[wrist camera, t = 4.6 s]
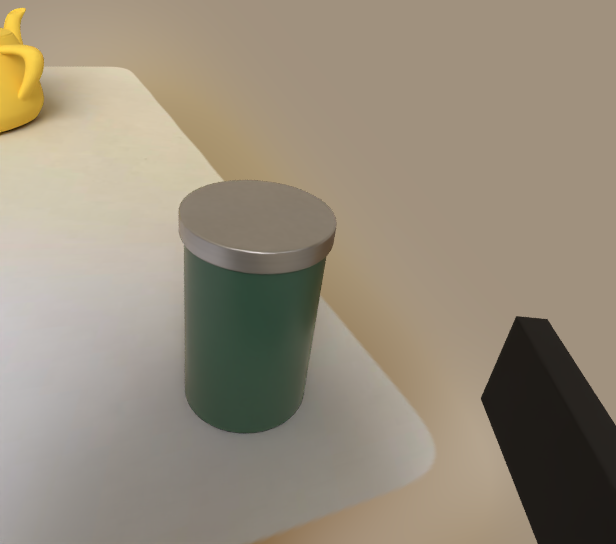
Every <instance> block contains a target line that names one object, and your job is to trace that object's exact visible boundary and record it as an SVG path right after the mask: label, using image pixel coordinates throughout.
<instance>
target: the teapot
mask: <svg viewBox="0 0 616 544" xmlns="http://www.w3.org/2000/svg"><path fill="white" fill-rule="evenodd" d="M25 11H26V9H25V8H18V9H15V10H13V11H11V12H10V13H9V14H8V15H7V17H6V20H5V24H4V29H3V28H0V132H3V131H7V130H10V129H13V128H16V127H18V126H21V125H23V124H26V123H28V122H30V121H31V120H33V119H35V118H36V117H37V116H38V114H39V112H40V110H41V108H42V106H43V102H44V96H43V91H42V87H41V84H40V81H39V80H40V77H41V75H42V72H43V67H44V58H43V55H42V53H41V52H40V51H39V50H38V49H37V48H35V47H32V46H28V45H23V42H22V39H21V33H20V24H21V19H22V16H23V14H24V13H25Z"/></svg>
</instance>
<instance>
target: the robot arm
mask: <svg viewBox="0 0 616 544" xmlns="http://www.w3.org/2000/svg"><path fill="white" fill-rule="evenodd" d="M481 400H482V403H483V405H484V408H485V411H486V413H487V416H488V418H489V420H490V423H491V426H492V428H493V431H494V433H495V436H496V438H497V441H498V444H499V446H500V449H501V451H502V454H503V456H504V459H505V461H506V464H507V466H508V469H509V472H510V474H511V476H512V479H513V481H514V484H515V486H516V489H517V492H518V494H519V497H520V499H521V502H522V505H523V507H524V510H525V512H526V515H527V517H528V520H529V522H530V525H531V528H532V530H533V533H534V535H535V538H536V540H537V543H538V544H616V425H615V424H614V422H613V421H612V419H611V417H610V416H609V415H608V413H607V411H606V410H605V408H604V407H603V405H602V404H601V402H600V400H599V399H598V397H597V396H596V394H595V393H594V391H593V390H592V388H591V386H590V385H589V383H588V382H587V380H586V379H585V377H584V376H583V374H582V373H581V371H580V369H579V368H578V366H577V365H576V363H575V362H574V360H573V358H572V357H571V356H570V354H569V352H568V351H567V349H566V348H565V346H564V344H563V343H562V341H561V340H560V339H559V337H558V336H557V334H556V332H555V331H554V329H553V328H552V326H551V324H550V323H549V321H548V320H547V319H539V318H529V317H518V316H517V317H516V318H515V321H514V323H513V325H512V327H511V330H510V332H509V334H508V337H507V339H506V341H505V344H504V346H503V348H502V351H501V353H500V355H499V357H498V360H497V363H496V364H495V367H494V369H493V371H492V374H491V376H490V378H489V381H488V383H487V385H486V387H485V390H484V393H483V394H482V397H481Z"/></svg>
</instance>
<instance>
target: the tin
mask: <svg viewBox="0 0 616 544" xmlns="http://www.w3.org/2000/svg"><path fill="white" fill-rule="evenodd" d="M335 230H336V218H335V215H334V213H333V211H332V210H331V208H330V207H329V206H328V205H327V204H326V203H324V202H323V201H322V200H321V199H319V198H317V197H316V196H314V195H312V194H310V193H308V192H305V191H303V190H301V189H298V188H295V187H292V186H288V185H284V184H280V183H274V182H267V181H258V180H233V181H224V182H218V183H213V184H210V185H206V186H204V187H201V188H199V189H197V190H195V191H193V192H191V193H190V194H188V195H187V196H186V197H185V198H184V199H183V201H182V202H181V204H180V207H179V235H180V238H181V240H182V242H183V244H184V312H185V393H186V398H187V401H188V403H189V405H190V407H191V408H192V410H193V411H194V412H195V413H196V414H197V415H198V416H199V417H200V418H201V419H202V420H204V421H205V422H206V423H208V424H210V425H212V426H214V427H216V428H219V429H222V430H226V431H229V432H236V433H255V432H261V431H265V430H269V429H272V428H274V427H277V426H279V425H280V424H282V423H284V422H285V421H287V420H288V419H289V418H290V417H291V416H292V415H293V414H294V413H295V412H296V411H297V409H298V408H299V406H300V404H301V402H302V399H303V394H304V388H305V382H306V376H307V370H308V364H309V358H310V352H311V346H312V340H313V334H314V328H315V322H316V316H317V309H318V303H319V297H320V290H321V285H322V279H323V273H324V267H325V261H326V256H327V255H328V253H329V252H330V251H331V249H332V246H333V242H334V236H335Z"/></svg>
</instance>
